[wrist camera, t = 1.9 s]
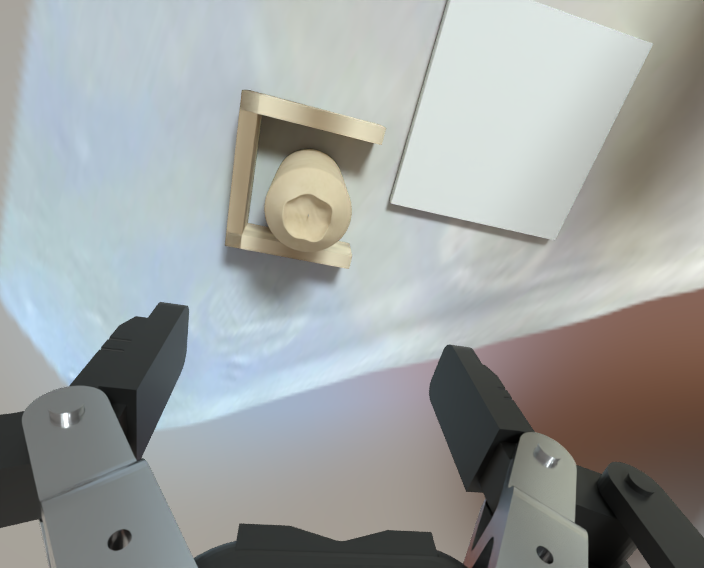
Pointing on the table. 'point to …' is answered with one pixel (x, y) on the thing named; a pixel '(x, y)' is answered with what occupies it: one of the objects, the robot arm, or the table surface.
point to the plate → (514, 113)
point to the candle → (308, 202)
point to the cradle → (244, 168)
